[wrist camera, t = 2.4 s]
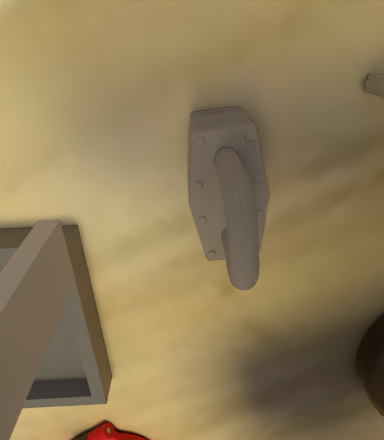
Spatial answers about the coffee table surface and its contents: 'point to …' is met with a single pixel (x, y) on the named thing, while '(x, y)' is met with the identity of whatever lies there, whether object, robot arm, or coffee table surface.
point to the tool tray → (68, 337)
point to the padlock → (228, 190)
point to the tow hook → (107, 434)
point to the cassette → (375, 84)
